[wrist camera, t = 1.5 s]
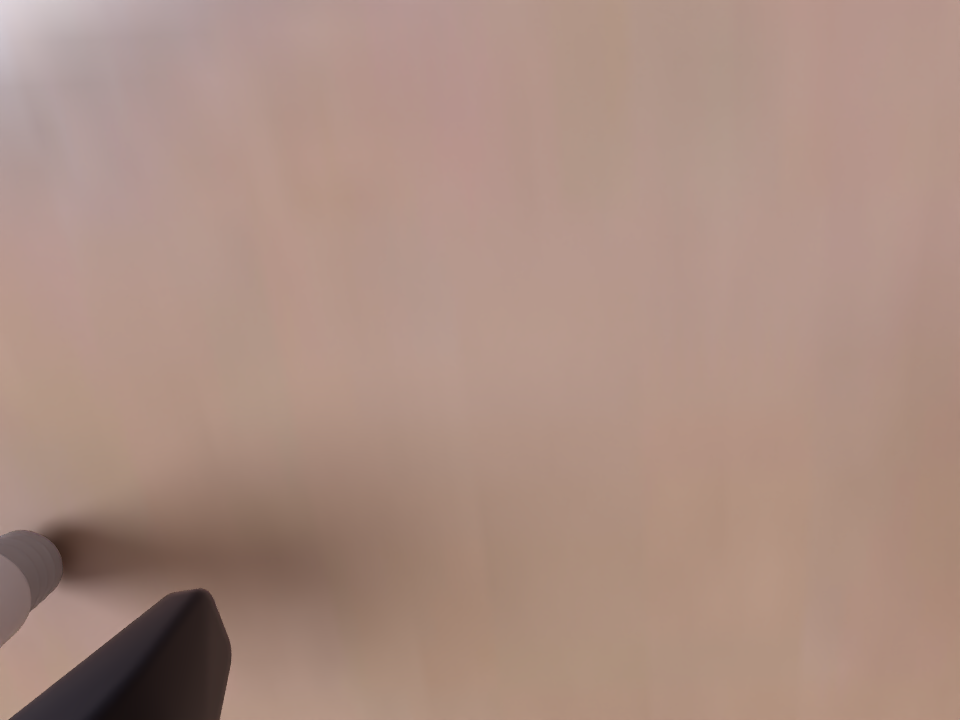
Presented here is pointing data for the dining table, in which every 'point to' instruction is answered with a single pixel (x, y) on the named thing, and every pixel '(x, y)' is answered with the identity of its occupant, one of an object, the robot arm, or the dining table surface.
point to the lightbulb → (25, 577)
